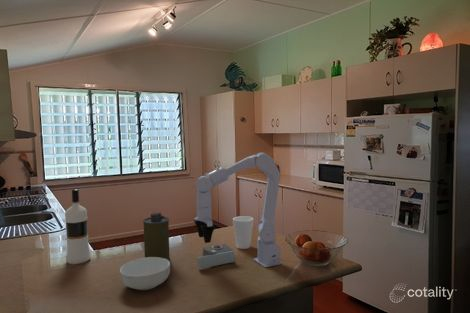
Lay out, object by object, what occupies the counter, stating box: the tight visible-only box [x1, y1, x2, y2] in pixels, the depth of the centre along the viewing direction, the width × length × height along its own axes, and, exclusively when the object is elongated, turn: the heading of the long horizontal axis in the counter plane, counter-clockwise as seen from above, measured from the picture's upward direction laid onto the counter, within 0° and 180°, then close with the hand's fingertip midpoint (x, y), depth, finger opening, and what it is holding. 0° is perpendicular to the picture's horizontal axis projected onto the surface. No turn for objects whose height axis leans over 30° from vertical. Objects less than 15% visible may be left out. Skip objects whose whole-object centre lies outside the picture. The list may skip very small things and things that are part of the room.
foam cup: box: [232, 215, 254, 250], centre depth 155 cm, size 10×9×13 cm
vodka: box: [64, 188, 91, 265], centre depth 140 cm, size 9×9×30 cm
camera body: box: [202, 243, 234, 256], centre depth 138 cm, size 8×10×6 cm
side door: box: [197, 250, 235, 270], centre depth 133 cm, size 1×15×4 cm, turn 116°
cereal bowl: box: [119, 256, 171, 291], centre depth 117 cm, size 17×17×7 cm
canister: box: [142, 211, 171, 262], centre depth 139 cm, size 11×10×20 cm
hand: (204, 239), depth 136 cm, fingers open, 7 cm apart
